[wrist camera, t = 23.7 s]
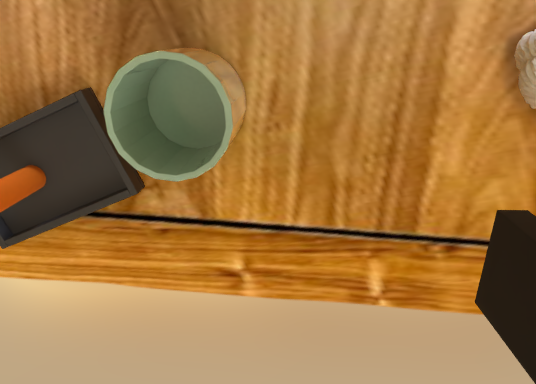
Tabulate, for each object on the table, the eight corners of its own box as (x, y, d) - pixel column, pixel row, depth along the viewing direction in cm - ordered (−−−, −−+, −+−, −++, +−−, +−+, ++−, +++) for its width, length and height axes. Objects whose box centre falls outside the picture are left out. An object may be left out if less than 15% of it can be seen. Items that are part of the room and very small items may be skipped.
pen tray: (14, 240, 44) (2, 249, 42) (-45, 151, 41) (-62, 157, 39) (145, 186, 41) (137, 193, 39) (91, 87, 38) (80, 89, 36)
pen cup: (123, 86, 38) (77, 100, 30) (206, 25, 36) (180, 22, 28) (184, 169, 40) (157, 203, 32) (266, 116, 38) (258, 138, 30)
